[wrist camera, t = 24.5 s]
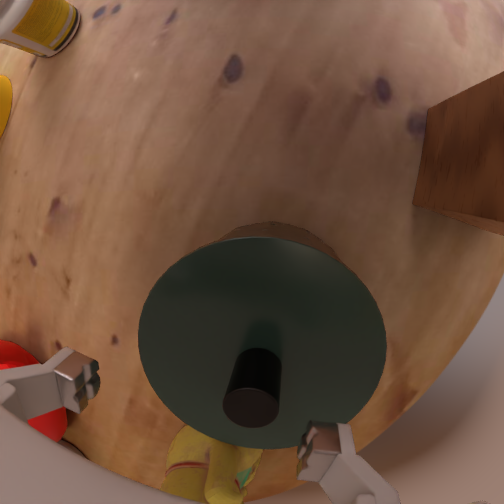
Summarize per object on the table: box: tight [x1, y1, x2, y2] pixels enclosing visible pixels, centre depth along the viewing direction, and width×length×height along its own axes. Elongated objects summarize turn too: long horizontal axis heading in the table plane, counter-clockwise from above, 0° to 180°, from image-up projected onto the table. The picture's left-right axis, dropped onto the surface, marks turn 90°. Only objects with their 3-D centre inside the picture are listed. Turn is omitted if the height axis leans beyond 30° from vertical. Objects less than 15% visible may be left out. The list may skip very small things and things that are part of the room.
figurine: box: [160, 425, 263, 504], centre depth 20 cm, size 11×9×15 cm
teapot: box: [0, 340, 68, 442], centre depth 24 cm, size 25×16×12 cm, turn 152°
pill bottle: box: [0, 0, 80, 57], centre depth 15 cm, size 6×6×12 cm
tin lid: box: [138, 235, 387, 449], centre depth 14 cm, size 13×13×5 cm
